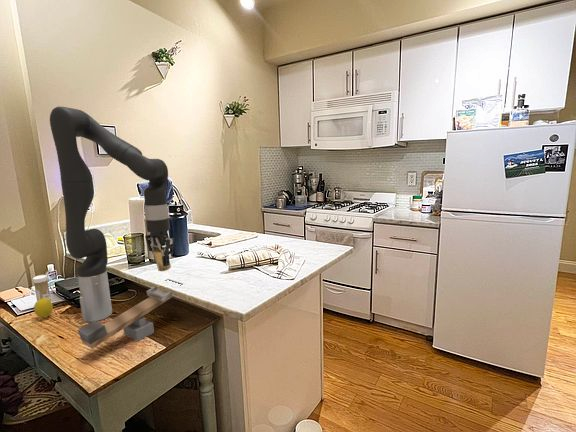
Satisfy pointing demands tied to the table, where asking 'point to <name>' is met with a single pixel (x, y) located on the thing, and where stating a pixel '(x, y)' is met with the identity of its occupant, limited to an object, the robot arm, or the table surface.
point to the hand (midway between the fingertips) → (161, 264)
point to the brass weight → (160, 261)
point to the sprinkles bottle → (41, 287)
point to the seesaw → (123, 318)
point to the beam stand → (139, 329)
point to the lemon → (43, 307)
